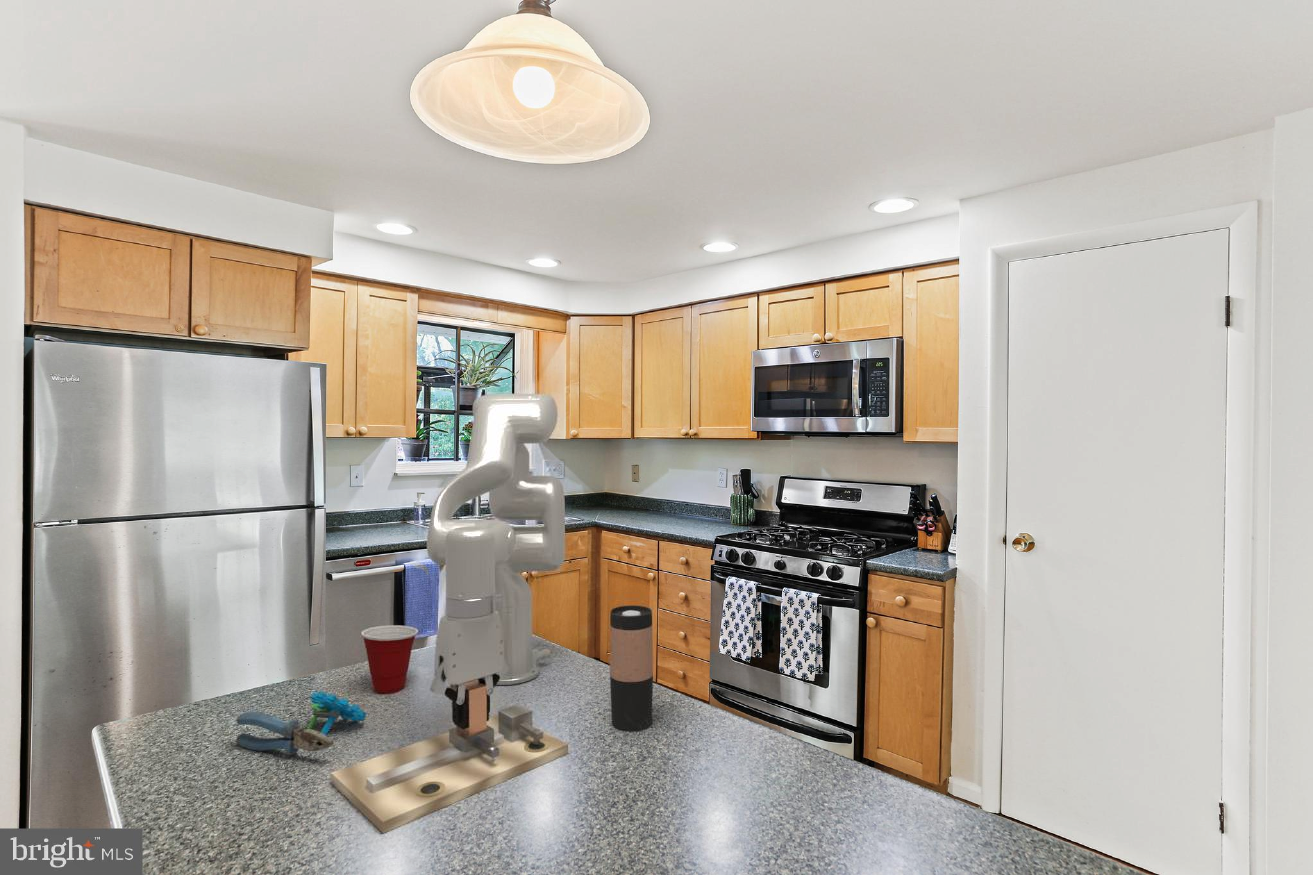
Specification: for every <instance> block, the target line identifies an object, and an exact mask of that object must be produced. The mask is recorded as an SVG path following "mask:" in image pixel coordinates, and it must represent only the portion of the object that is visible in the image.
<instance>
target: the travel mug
mask: <svg viewBox="0 0 1313 875" xmlns="http://www.w3.org/2000/svg"><path fill="white" fill-rule="evenodd" d="M609 618H610V620H609V622H610V625H609V629H610V630H609V634H610V635H609V638H610V639H609V675H610V676H609V680H610V681H609V682H610V683H609V685H610V707H611V708H610V710H611V713H610V714H611V724H612V726H613V727H614V728H615V729H617V730H619V731H623V732H639V731H642V730H646V729H648V728H649V727H650V726H651V725H652V722H653V721H652V720H653V694H654V692H653V691H654V690H653V689H654V688H653V687H654V664H653V663H654V655H653V654H654V652H653V650H654V648H653V644H654V642H653V610H652V609H651V608H650V607H648V606H643V605H635V604H634V605H632V604H631V605H629V604H628V605H620V606H616V607H614V608H612V609H610V617H609Z"/></svg>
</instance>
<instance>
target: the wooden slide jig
mask: <svg viewBox="0 0 1313 875" xmlns="http://www.w3.org/2000/svg"><path fill="white" fill-rule="evenodd" d="M497 712H498V713H497V714H496V715H493V716H491V717H490V716H489V721H487V725H488V726H489V727H491V728H493V729H494V742H492V743H490V744H492V745H494V746H495V747H497V748H499V756H497V757H496V761H494V762H489V756H488V755H486V754H485V753H483V752H481V751H480V750H478V749H477V748H476V749H474V750H471V751H468V752H466V753H465V752H464V751H462V750H461V749H459V748H457V747H456V746H454V745H453V744H451V743H450V742H449V731H448V732H447V731H446V732H444V733H442V734H439V735H436V736H433V737H430V738H427V739H424V740H422V741H418V742H415V743H413V744H410V745H407V746H405V747H402V748H399V749H396V750H394V751H389V752H387V753H385V754H382V755H378V756H375V757H373V758H369V759H368V760H364V761H360V762H358V763H355V764H352V765H350V766H346V767H344V768H341V769H338V770H335V771H332V772H331V776H330V777H331V779H330V780H331V781H330V782H331V784H332V785H333V786H334V787H335V788H336V789H337V790H338V791H339V792H340V793H341V794H342V795H343V796H344V795H345V796H344V797H345V798H346V797H347V798H346V799H347V800H348V799H349V802H350V803H351V804H352V805H353V806H354V807H355V808H356V809H357V810H358V811H359V812H360V813H362V814H363V816H364V817H366V819H367V820H369V821H370V822H371V823H372V825H374V827H376V829H378V831H380V832H381V833H382V834H385V833H388V832H389V831H392V830H394V829H397V828H399V827H401V826H404V825H405V824H409V823H411V822H414V821H415V820H417V819H419V818H421V817H424V816H426V815H429V814H432V813H433V812H436V811H438V810H441V809H444V808H445V807H447V806H450V805H452V804H454V803H457V802H459V801H461V800H464V799H466V798H469V797H471V796H473V795H475V794H477V793H480V792H482V791H486V790H487V789H489V788H491V787H494V786H496V785H499V784H501V783H503V782H505V781H508V780H510V779H512V778H515V777H517V776H519V775H521V774H524V773H527V772H529V771H531V770H533V769H536V768H538V767H540V766H542V765H545V764H547V763H550V762H552V761H553V760H557V759H559V758H561V757H564V756H566V755H568V754H569V743H567V742H565V741H563V740H561V739H559V738H557V737H555V736H553V735H551V734H549V733H547V732H546V731H544V730H542V729H539V728H538V727H536V726H535V725H533V710H532V709H530V708H528V707H526V706H524V705H522V704H521V703H518V704H517V703H516V704H515V705H512V706H508V707H506V708H502V709H499V710H497Z"/></svg>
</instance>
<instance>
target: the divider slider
mask: <svg viewBox="0 0 1313 875" xmlns="http://www.w3.org/2000/svg"><path fill="white" fill-rule="evenodd" d="M464 702H466V703H467V705H468V727H467V728H466V729H464V730H463V729H461V728H460V727H458V726H456V725H455V727H452V728H449V729H448V732H449V742H450V743H451V744H453V745H454V746H456V747H457V748H459V749H461V750H462V751H464V752H465V753H466V752H468V751H471V750H474V749H476V748H477V749H478V750H480V751H481V752H483V753H485V754H486V755H488V756H489V762H494V761H496V757H497V756H499V748H497V747H495V746H494V745H492V744H490V743H492V742H494V729H493V728H491V727H489V726H488V725H487V691H486V685H484V684H482V683H480V682H478V681H477V680H474V681H471V682H467V683H466V686H465V698H464Z"/></svg>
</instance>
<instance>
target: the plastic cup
mask: <svg viewBox="0 0 1313 875" xmlns="http://www.w3.org/2000/svg"><path fill="white" fill-rule="evenodd" d="M418 633H419V629H417V628H415V627H413V626H408V625H397V624H396V625H393V624H392V625H391V624H390V625H380V626H374V627H369V628H367V629H364V630H362V631H360V634H361V636H362V638H363V642H364V646H365V649H366V656H367V662H368V669H369V673H370V674H369V676H370V677H371V683H372V687H373V690H374V693H376V694H382V695H388V694H389V695H390V694H395V693H397V692H401V691H403V689H405V685H406V681H407V675H408V671H409V666H410V661H411V655H412V648H413V645H414V641H415V638H416V636H417V635H418Z"/></svg>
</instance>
